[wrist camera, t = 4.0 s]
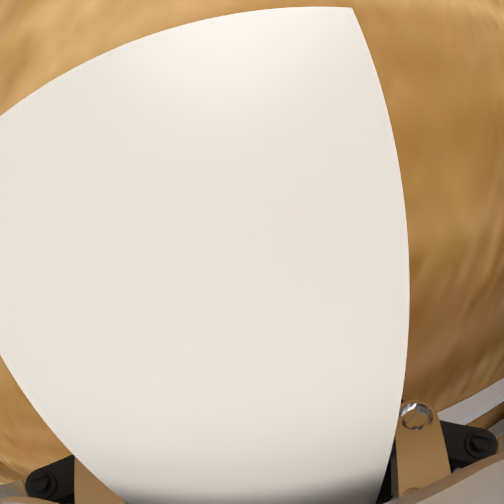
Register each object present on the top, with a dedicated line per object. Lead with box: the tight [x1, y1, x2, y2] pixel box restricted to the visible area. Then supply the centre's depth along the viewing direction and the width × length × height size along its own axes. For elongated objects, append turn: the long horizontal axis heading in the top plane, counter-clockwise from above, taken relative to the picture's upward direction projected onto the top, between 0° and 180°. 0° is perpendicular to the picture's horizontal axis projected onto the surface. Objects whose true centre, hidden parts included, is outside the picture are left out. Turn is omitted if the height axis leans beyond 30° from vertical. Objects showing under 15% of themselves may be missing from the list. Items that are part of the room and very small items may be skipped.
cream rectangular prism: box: [0, 7, 409, 504], centre depth 7 cm, size 5×16×7 cm, turn 13°
